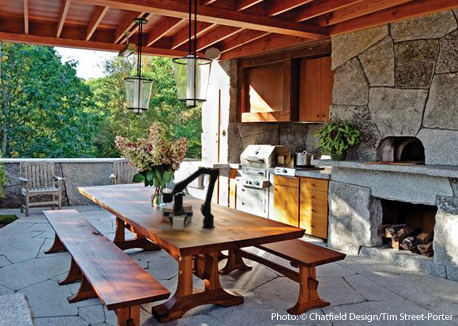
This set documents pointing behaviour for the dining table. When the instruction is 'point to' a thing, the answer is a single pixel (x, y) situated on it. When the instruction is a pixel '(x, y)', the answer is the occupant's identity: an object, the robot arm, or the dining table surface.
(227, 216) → the dining table surface
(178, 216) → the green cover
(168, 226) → the slate pad
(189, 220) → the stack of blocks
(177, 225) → the white cover
